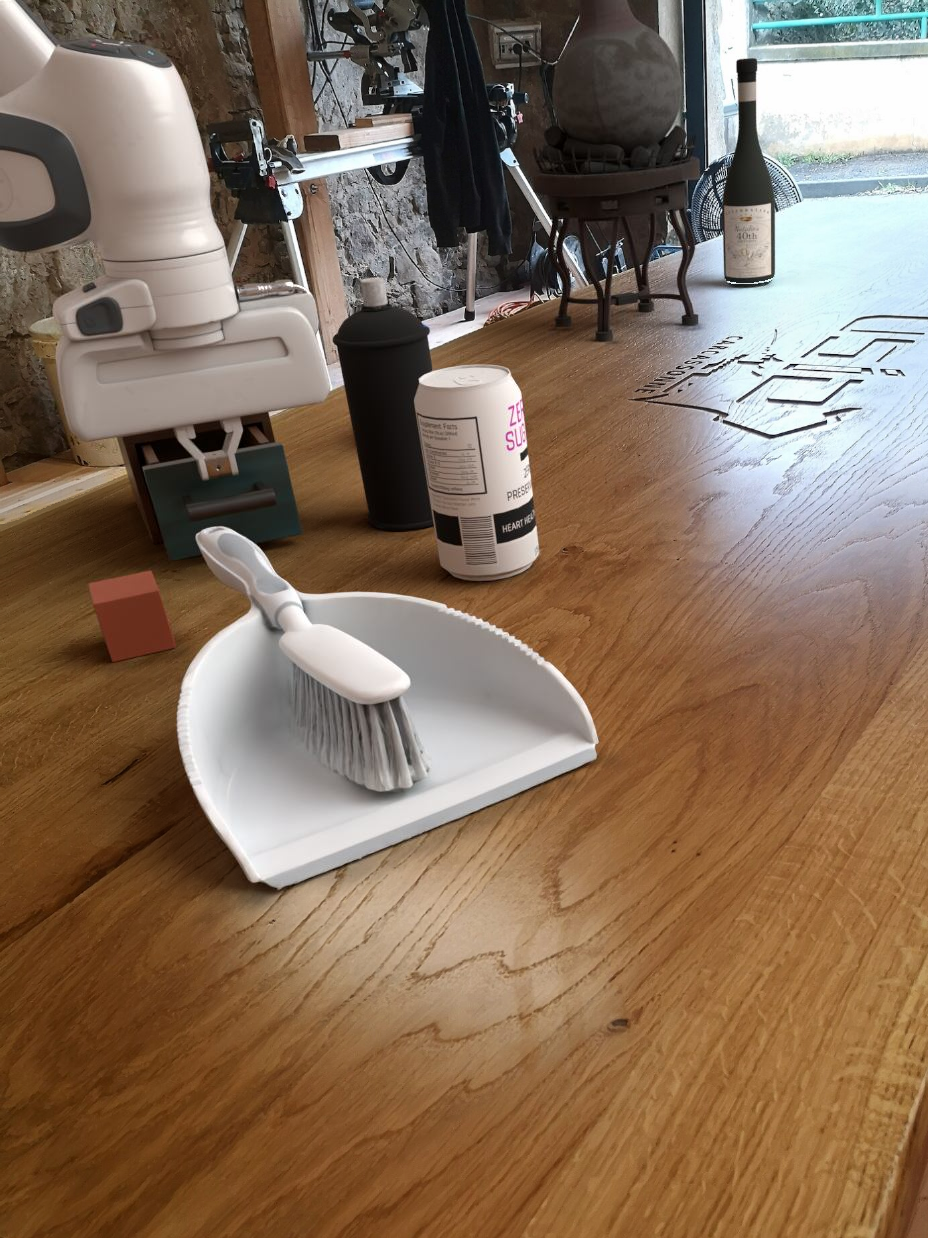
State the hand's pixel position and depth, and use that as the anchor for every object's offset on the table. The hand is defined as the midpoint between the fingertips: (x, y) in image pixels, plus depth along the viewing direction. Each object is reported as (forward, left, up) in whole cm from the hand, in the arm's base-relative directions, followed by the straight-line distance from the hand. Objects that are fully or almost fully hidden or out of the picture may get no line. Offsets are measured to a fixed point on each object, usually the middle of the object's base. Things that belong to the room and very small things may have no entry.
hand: (219, 476), depth 102 cm
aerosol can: (+16, +4, -8) cm, 18 cm away
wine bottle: (+94, +80, -8) cm, 124 cm away
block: (-10, -12, -8) cm, 17 cm away
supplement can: (+18, -12, -8) cm, 23 cm away
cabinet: (0, +18, -8) cm, 19 cm away
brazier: (+66, +66, -8) cm, 94 cm away
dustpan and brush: (0, -32, -8) cm, 33 cm away
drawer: (0, +7, -7) cm, 10 cm away
